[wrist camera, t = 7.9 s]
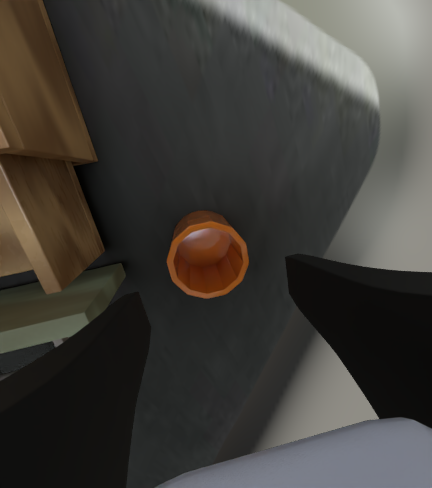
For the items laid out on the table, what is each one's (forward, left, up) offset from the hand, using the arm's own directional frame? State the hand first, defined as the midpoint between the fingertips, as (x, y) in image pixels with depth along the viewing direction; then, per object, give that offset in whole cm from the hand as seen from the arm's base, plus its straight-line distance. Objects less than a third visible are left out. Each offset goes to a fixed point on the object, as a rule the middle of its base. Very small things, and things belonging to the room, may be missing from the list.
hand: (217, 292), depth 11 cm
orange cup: (0, 0, -9) cm, 9 cm away
